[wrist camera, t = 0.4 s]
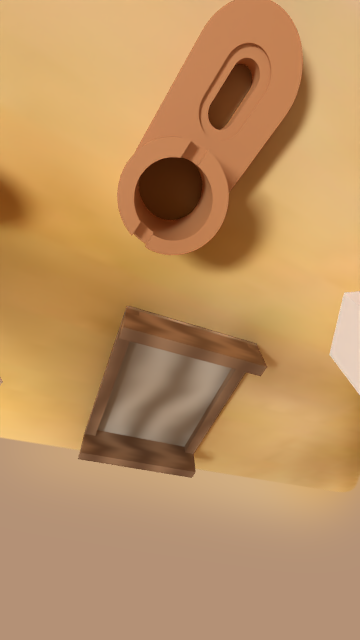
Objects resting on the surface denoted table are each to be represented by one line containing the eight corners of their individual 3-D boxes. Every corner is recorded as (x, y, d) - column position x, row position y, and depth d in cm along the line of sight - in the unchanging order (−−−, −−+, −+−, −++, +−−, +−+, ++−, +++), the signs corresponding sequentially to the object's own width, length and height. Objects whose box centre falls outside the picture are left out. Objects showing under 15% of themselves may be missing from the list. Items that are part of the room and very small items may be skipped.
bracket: (181, 246, 32) (186, 273, 26) (110, 198, 29) (97, 216, 23) (310, 66, 24) (358, 46, 18) (232, -22, 21) (260, -80, 16)
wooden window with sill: (84, 431, 46) (78, 458, 42) (127, 305, 35) (123, 327, 31) (189, 451, 50) (191, 477, 46) (256, 343, 39) (266, 366, 35)
